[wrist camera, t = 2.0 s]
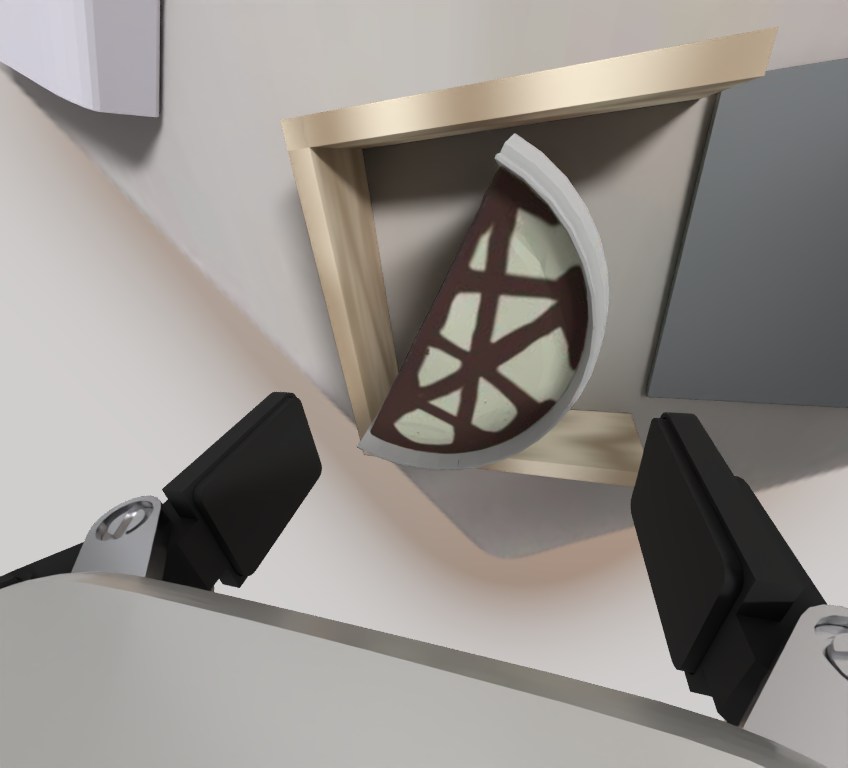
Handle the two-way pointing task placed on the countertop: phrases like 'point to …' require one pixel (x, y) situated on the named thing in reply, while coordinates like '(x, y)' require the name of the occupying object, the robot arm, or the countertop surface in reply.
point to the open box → (466, 113)
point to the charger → (87, 50)
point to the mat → (765, 249)
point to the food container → (502, 327)
